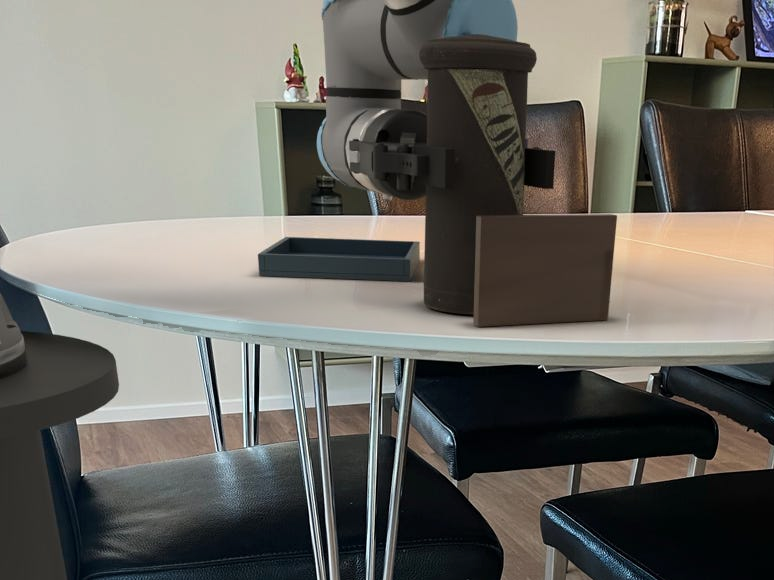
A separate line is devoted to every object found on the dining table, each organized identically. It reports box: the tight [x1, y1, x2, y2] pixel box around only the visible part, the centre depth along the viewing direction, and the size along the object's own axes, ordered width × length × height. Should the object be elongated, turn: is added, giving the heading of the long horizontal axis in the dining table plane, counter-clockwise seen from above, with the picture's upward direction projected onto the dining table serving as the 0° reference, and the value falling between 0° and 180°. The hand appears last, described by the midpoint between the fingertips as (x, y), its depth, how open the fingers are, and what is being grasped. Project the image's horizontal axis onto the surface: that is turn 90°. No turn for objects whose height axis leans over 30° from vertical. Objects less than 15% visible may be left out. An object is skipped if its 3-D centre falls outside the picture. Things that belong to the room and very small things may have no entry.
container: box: [419, 34, 538, 316], centre depth 80 cm, size 9×9×20 cm
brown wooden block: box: [472, 213, 618, 328], centre depth 84 cm, size 15×12×8 cm
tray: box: [257, 236, 421, 282], centre depth 103 cm, size 15×15×2 cm
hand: (501, 169), depth 76 cm, fingers closed on container, 8 cm apart
